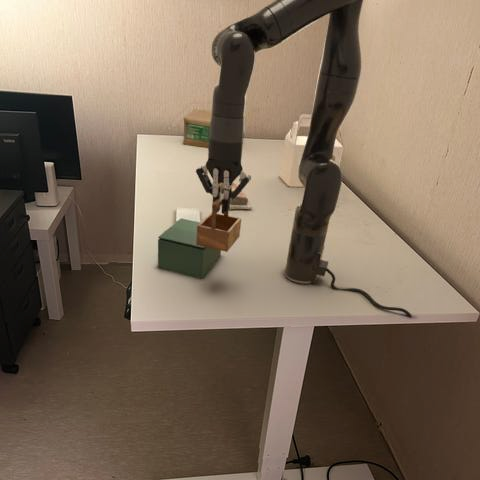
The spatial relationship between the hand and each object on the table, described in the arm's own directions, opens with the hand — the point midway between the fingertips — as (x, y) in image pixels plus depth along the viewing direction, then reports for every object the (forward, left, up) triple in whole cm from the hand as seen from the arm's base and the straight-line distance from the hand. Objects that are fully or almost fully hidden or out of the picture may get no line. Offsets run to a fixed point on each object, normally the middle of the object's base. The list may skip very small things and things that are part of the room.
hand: (220, 211), depth 111 cm
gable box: (-5, -105, -21) cm, 107 cm away
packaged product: (+16, -63, -21) cm, 68 cm away
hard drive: (+24, -38, -21) cm, 50 cm away
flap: (+11, -13, -12) cm, 21 cm away
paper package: (+54, -143, -21) cm, 154 cm away
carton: (+11, -9, -21) cm, 25 cm away
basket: (0, 0, -8) cm, 8 cm away
